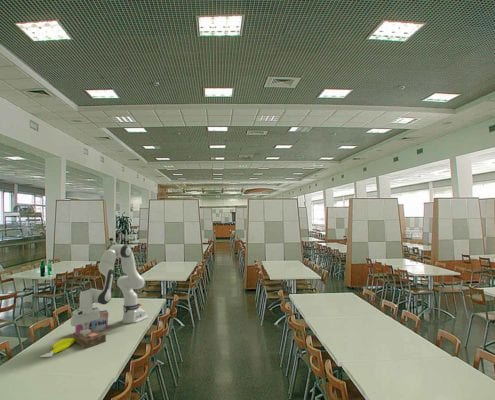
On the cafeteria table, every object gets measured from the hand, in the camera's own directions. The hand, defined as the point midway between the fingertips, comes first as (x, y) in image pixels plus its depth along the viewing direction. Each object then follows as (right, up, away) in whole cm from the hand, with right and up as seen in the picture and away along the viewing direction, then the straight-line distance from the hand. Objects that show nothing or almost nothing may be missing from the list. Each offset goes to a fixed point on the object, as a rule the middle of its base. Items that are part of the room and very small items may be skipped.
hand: (85, 328), depth 227 cm
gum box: (-5, -10, +19) cm, 22 cm away
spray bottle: (-10, -8, -16) cm, 21 cm away
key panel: (+4, -8, -3) cm, 10 cm away
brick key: (+8, -6, -6) cm, 12 cm away
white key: (0, -5, 0) cm, 5 cm away
